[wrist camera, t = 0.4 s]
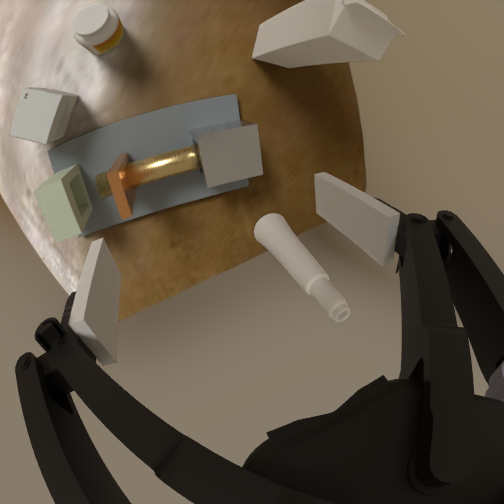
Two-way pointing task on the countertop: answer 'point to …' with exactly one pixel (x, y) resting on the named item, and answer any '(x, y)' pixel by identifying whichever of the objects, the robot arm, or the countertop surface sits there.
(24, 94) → the product box
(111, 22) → the supplement bottle
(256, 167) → the grey cube end cap
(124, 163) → the tube
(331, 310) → the cosmetic bottle
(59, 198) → the socket
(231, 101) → the board
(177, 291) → the countertop surface
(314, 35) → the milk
